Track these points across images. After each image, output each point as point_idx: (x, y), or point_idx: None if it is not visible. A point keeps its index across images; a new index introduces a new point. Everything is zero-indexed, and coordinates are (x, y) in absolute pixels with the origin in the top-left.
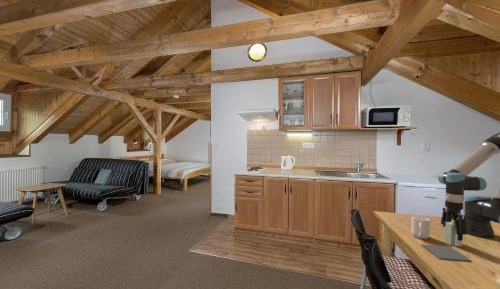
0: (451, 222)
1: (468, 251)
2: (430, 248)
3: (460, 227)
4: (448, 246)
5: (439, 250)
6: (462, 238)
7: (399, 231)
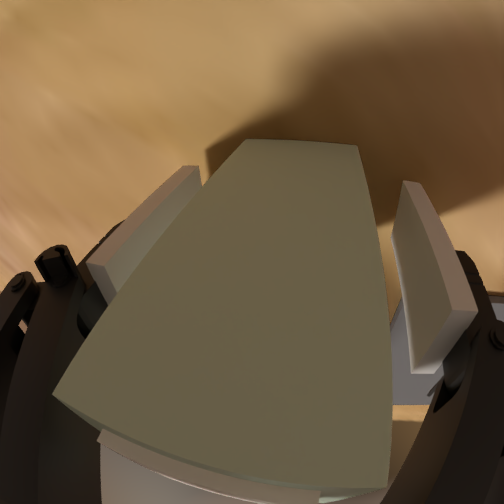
0: (157, 472)
1: (490, 182)
2: (403, 395)
3: (501, 497)
4: (402, 306)
5: (436, 378)
6: (479, 277)
7: None
